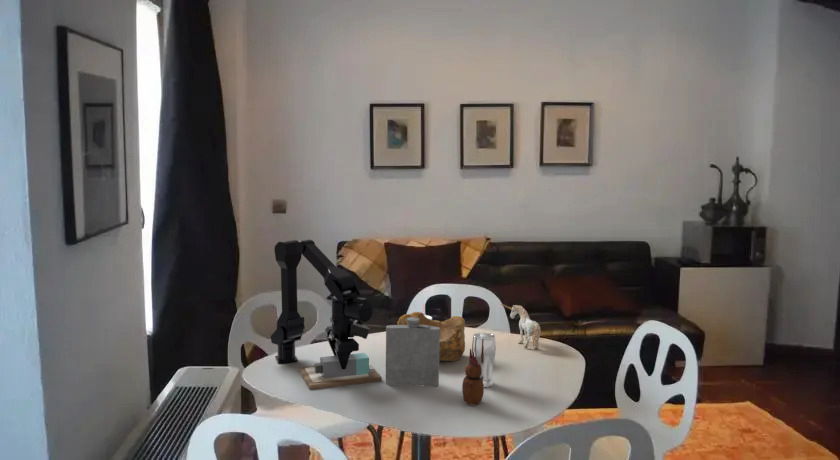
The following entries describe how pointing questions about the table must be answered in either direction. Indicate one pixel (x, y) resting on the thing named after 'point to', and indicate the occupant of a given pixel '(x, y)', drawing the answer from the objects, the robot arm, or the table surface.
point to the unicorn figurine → (526, 326)
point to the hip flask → (412, 354)
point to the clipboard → (336, 378)
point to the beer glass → (484, 355)
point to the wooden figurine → (473, 382)
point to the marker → (332, 367)
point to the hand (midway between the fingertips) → (341, 365)
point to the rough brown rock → (444, 334)
